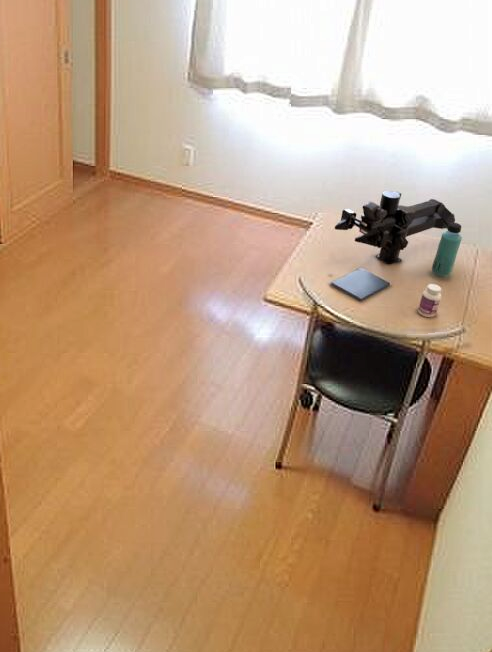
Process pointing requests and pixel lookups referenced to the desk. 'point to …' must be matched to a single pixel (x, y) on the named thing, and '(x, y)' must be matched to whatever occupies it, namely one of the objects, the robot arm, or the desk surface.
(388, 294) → the desk surface
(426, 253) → the desk surface
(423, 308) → the pill bottle
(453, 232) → the beverage bottle
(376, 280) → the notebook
